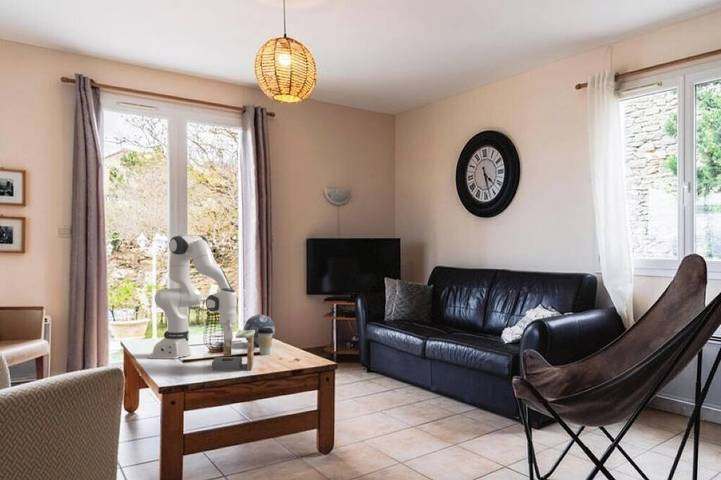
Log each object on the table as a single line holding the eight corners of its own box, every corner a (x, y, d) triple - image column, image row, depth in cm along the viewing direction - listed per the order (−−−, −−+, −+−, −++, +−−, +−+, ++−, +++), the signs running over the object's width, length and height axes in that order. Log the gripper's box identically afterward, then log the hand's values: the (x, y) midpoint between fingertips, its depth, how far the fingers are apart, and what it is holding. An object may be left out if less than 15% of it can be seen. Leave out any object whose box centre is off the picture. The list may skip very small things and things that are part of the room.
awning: (235, 371, 251) (235, 335, 252) (238, 363, 267) (239, 330, 267) (251, 370, 253) (252, 335, 253) (254, 363, 268) (254, 330, 269)
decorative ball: (281, 345, 318) (282, 314, 318) (258, 350, 301) (259, 317, 301) (259, 341, 329) (260, 311, 329) (236, 346, 312) (237, 314, 312)
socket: (211, 370, 252) (211, 362, 252) (215, 364, 264) (215, 357, 264) (239, 369, 254) (239, 362, 254) (241, 364, 266) (242, 356, 266)
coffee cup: (253, 355, 288) (254, 329, 288) (261, 351, 297) (262, 327, 297) (268, 356, 285) (268, 330, 285) (275, 353, 294) (276, 328, 294)
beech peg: (223, 356, 256) (224, 333, 256) (223, 354, 260) (223, 331, 260) (231, 355, 257) (231, 332, 257) (231, 354, 261) (231, 331, 261)
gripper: (235, 321, 250) (235, 348, 250) (232, 316, 269) (232, 341, 269) (222, 322, 248) (222, 349, 248) (220, 316, 267) (220, 342, 267)
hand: (227, 345), depth 259 cm, fingers closed on beech peg, 4 cm apart
